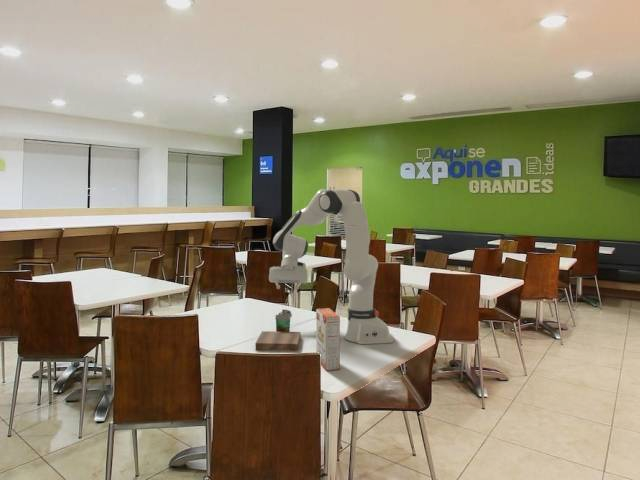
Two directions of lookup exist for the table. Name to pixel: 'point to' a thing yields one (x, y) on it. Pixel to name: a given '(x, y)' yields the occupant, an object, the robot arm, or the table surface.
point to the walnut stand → (278, 341)
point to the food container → (283, 321)
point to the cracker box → (328, 338)
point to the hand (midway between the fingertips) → (287, 288)
